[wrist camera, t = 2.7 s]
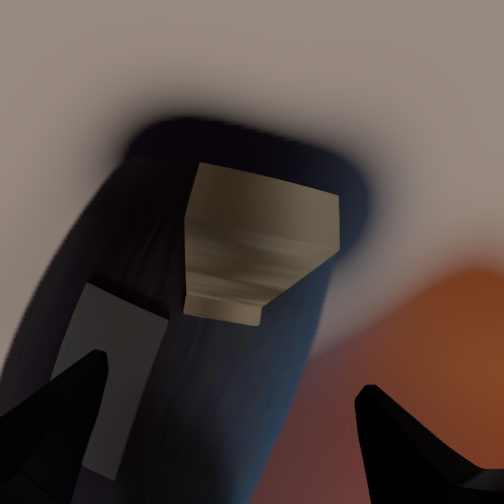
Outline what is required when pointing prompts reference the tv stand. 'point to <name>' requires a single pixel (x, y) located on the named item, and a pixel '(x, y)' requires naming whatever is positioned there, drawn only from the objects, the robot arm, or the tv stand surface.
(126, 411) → the slate tile
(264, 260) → the tapered block
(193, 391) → the tv stand surface
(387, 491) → the robot arm
